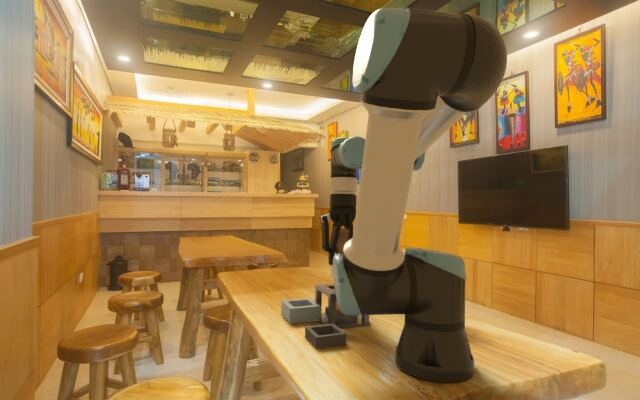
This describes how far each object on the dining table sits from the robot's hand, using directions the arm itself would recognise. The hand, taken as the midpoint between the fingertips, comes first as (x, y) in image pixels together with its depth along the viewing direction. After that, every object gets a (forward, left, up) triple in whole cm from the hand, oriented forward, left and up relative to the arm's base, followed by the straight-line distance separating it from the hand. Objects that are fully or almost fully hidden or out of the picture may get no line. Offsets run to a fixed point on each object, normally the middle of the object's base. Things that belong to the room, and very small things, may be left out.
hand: (341, 276), depth 100 cm
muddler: (0, 0, -7) cm, 7 cm away
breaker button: (0, 0, -11) cm, 11 cm away
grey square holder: (+6, +10, -12) cm, 17 cm away
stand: (-13, +10, -12) cm, 21 cm away
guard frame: (0, 0, -12) cm, 12 cm away
